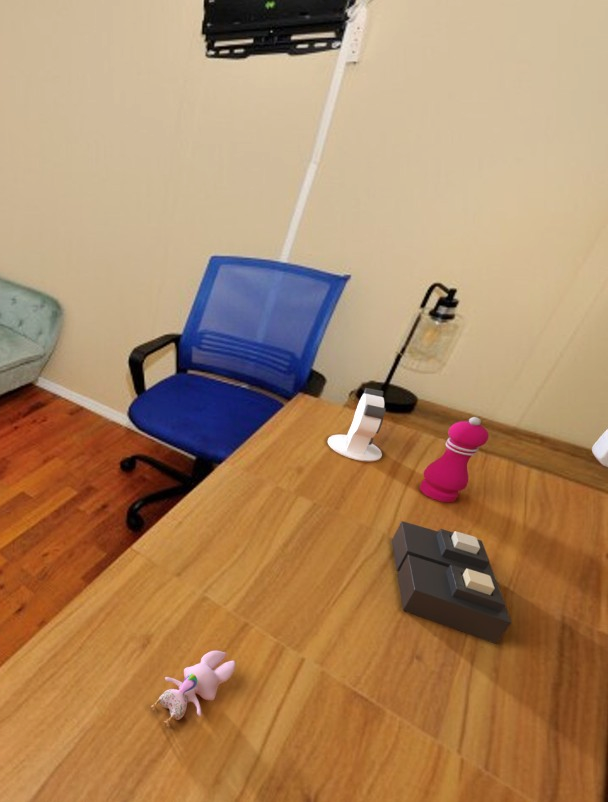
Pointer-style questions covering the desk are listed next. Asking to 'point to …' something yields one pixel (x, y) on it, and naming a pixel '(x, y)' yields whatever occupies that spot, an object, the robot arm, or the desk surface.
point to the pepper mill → (454, 461)
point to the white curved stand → (362, 429)
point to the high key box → (451, 599)
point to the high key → (478, 581)
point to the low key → (465, 542)
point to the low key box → (436, 549)
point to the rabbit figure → (196, 684)
